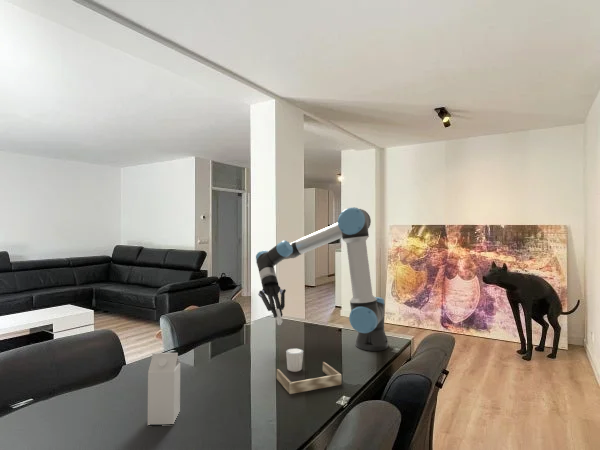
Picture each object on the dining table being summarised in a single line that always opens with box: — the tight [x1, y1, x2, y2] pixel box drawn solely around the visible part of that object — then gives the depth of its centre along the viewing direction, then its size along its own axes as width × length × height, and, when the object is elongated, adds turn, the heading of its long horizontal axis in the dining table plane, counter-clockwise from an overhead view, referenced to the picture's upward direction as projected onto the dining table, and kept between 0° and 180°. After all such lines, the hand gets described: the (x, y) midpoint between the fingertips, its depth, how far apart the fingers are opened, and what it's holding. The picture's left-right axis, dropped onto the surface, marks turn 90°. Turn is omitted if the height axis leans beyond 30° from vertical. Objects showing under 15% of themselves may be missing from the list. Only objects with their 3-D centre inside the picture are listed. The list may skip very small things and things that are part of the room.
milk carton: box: [147, 352, 181, 426], centre depth 104 cm, size 7×7×19 cm
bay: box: [276, 361, 342, 395], centre depth 131 cm, size 20×13×4 cm
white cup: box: [285, 347, 304, 372], centre depth 143 cm, size 7×7×7 cm
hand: (280, 323), depth 156 cm, fingers closed
